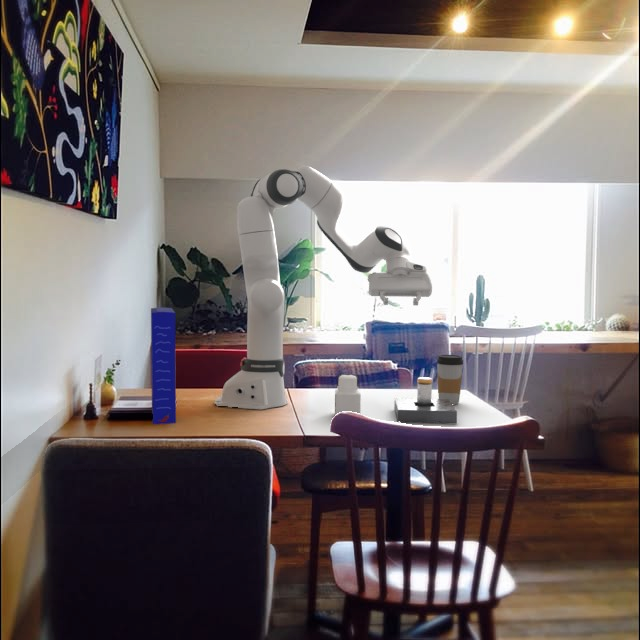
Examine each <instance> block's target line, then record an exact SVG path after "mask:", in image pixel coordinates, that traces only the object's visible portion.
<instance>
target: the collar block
mask: <svg viewBox="0 0 640 640" xmlns="http://www.w3.org/2000/svg"><path fill="white" fill-rule="evenodd" d="M393 405H394V410H393V411H394V413H395V418H396V420H397V422H398V421H400V422H399V423H409V424H411V423H414V424H415V423H416V424H444V423H457V422H458V419H457V418H458V411H457V409H456V408H455V406H454V405H452V404H451V402H450V401H449V400H448V399H439V398H431V407H430V406H417V398H408V397H407V398H403V397H394V403H393Z"/></svg>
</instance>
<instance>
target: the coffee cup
mask: <svg viewBox="0 0 640 640" xmlns="http://www.w3.org/2000/svg"><path fill="white" fill-rule="evenodd" d="M463 365H464V359H463V356H461V355H458V354H440V355H438V356H437V358H436V367H437V373H436V374H437V376H436V377H437V393H438V399H448V400H449V401H450V402H451V404H456V405H458V404H459V402H460V397H461V390H462V377H463V374H462V373H463V368H464V367H463ZM457 403H458V404H457Z"/></svg>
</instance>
